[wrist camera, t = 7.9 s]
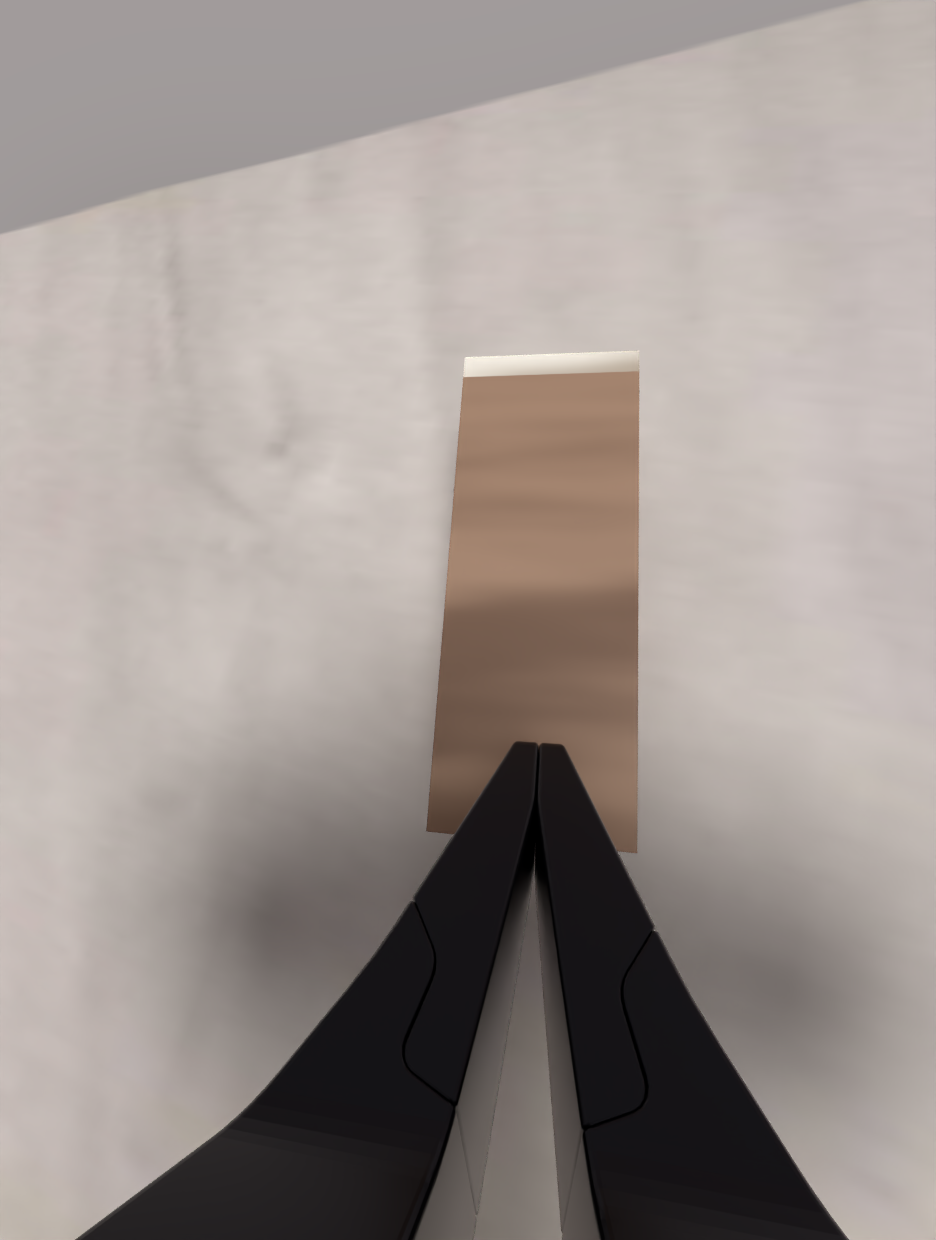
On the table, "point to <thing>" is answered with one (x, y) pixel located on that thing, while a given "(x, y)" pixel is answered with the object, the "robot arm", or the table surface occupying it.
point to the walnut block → (543, 581)
